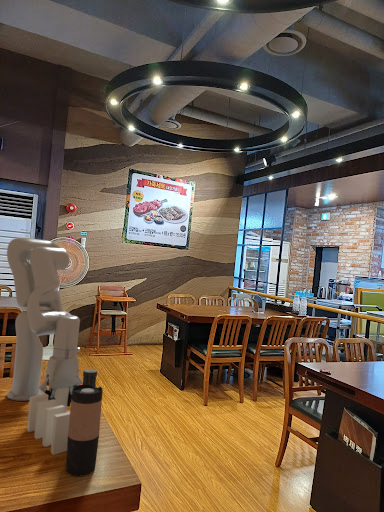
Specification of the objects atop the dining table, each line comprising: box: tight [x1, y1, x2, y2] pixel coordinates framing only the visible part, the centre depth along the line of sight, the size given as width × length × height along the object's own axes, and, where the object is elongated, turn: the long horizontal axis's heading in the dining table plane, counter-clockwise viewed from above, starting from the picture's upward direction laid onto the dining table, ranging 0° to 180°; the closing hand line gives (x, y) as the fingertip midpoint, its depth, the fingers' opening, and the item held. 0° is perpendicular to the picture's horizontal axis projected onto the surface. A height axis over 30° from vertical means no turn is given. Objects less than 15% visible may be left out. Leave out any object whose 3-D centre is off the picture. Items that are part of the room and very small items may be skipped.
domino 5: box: [50, 411, 70, 456], centre depth 104 cm, size 2×5×10 cm, turn 134°
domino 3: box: [54, 387, 69, 413], centre depth 127 cm, size 2×5×10 cm, turn 134°
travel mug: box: [65, 384, 103, 477], centre depth 96 cm, size 8×8×20 cm
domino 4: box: [41, 405, 65, 447], centre depth 108 cm, size 2×5×10 cm, turn 134°
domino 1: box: [26, 393, 48, 433], centre depth 116 cm, size 2×5×10 cm, turn 134°
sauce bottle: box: [81, 368, 98, 387], centre depth 112 cm, size 6×6×20 cm
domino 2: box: [33, 399, 56, 440], centre depth 112 cm, size 2×5×10 cm, turn 135°
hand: (59, 406), depth 127 cm, fingers closed on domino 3, 4 cm apart
